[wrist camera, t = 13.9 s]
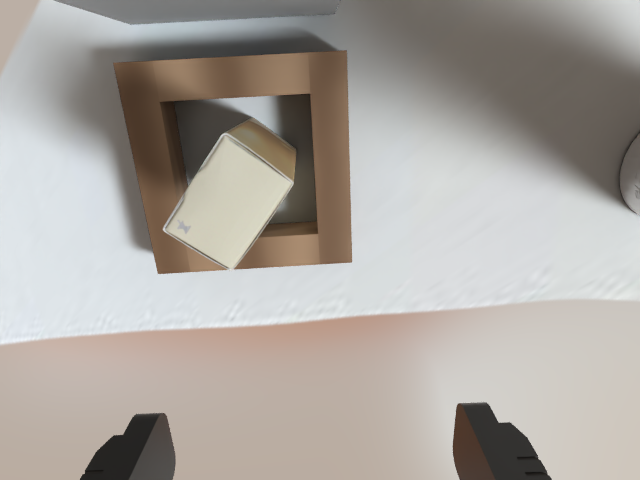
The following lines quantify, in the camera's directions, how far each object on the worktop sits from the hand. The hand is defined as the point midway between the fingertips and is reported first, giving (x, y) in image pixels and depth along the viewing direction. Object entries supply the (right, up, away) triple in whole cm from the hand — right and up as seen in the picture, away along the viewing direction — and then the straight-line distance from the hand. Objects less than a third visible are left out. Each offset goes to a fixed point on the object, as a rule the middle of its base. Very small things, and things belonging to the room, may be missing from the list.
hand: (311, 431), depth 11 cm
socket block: (-5, +11, +21) cm, 24 cm away
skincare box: (-5, +11, +21) cm, 24 cm away
